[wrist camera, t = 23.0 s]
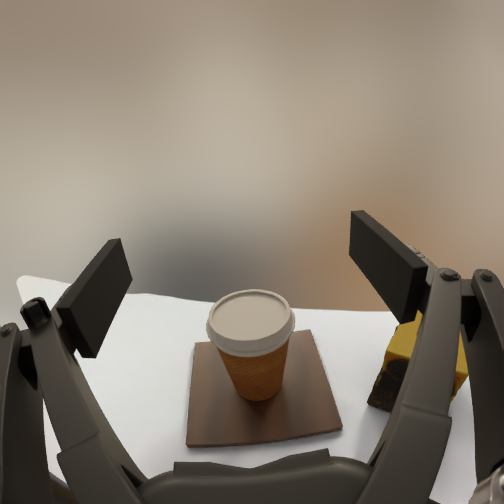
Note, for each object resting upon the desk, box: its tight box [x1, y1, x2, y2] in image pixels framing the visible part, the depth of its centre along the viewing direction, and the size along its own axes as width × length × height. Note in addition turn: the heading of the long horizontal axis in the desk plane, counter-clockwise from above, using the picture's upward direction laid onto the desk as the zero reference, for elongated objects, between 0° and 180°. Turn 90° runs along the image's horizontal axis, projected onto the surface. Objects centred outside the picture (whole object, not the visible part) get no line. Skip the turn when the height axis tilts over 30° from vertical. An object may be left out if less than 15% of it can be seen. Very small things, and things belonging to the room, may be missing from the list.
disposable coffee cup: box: [206, 289, 295, 401], centre depth 32 cm, size 10×10×12 cm
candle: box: [367, 310, 469, 412], centre depth 28 cm, size 10×10×10 cm
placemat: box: [186, 329, 343, 447], centre depth 35 cm, size 18×18×1 cm
